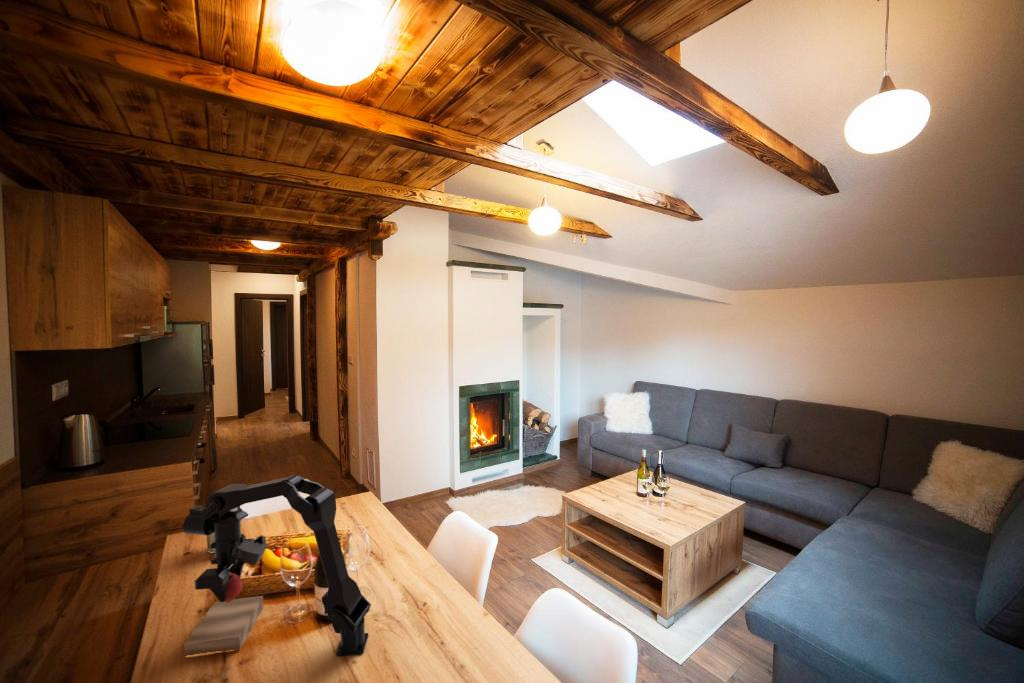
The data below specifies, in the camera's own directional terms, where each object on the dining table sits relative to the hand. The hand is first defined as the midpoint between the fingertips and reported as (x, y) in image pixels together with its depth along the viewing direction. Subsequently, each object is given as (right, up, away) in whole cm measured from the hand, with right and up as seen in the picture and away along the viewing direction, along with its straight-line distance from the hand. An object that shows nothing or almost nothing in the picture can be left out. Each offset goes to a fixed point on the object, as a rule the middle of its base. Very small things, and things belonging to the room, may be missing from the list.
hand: (229, 593), depth 110 cm
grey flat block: (-1, -11, +1) cm, 11 cm away
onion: (0, -2, 0) cm, 2 cm away
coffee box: (-28, -9, +40) cm, 50 cm away
